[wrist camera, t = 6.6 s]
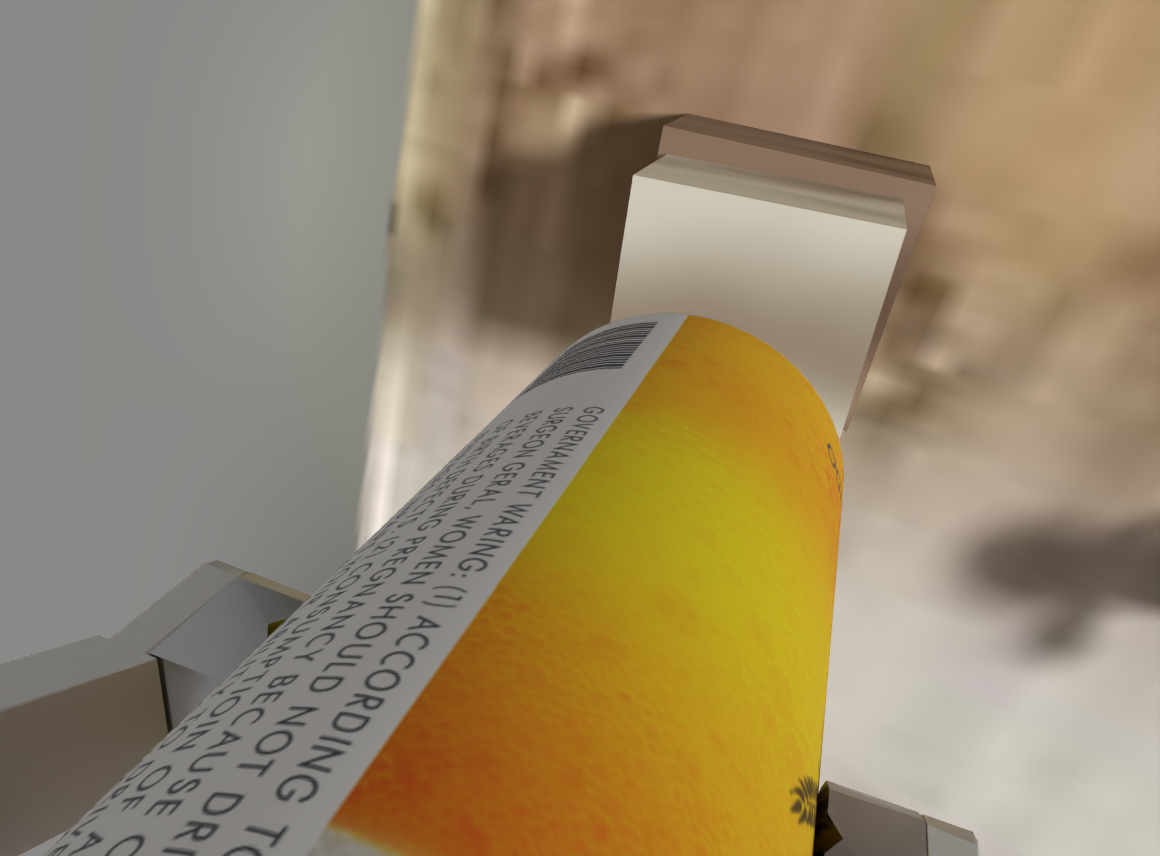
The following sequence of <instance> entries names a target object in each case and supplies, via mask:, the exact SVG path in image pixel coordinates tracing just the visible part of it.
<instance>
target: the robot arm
mask: <svg viewBox="0 0 1160 856" xmlns="http://www.w3.org/2000/svg"><path fill="white" fill-rule="evenodd" d="M309 597H310V595H307V594H304V593H301V592H299V591H297V590H294V589H292V588H289V587H287V586H284V585H281V584H279V583H276V582H274V581H271V580H269V579H266V578H264V577H261V576H258V575H256V574H253V573H249V572H247V571H244V570H241V569H239V568H236V567H234V566H231V565H229V564H226V563H223V562H221V561H218V560H216V561H212V562H209V563H205V564H203V565H201V566H200V567H199V568H198V569H196V570H195V571H194V572H193V573H192V574H190V575H189V576H188V577H186V578H185V579H184V580H183V581H181V582H180V583H179V584H178V585H176V586H175V587H174V588H172V589H171V590H170V591H169V592H167V593H166V594H165V595H164V596H162V597H161V598H160V599H159V600H157V601H156V602H155V603H154V604H152V605H151V606H150V607H149V608H147V609H146V610H145V611H144V612H142V613H141V614H140V615H139V616H137V617H136V618H135V619H133V620H132V621H131V622H130V623H128V624H127V625H126V626H125V627H124V628H122V629H121V630H120V631H118V632H117V633H116V634H115V635H113V636H112V637H111V638H110V639H108V638H105V637H102V636H99V635H98V636H94V637H91V638H88V639H84V640H81V641H78V642H74V643H71V644H67V645H64V646H61V647H57V648H54V649H51V650H47V651H44V652H40V653H37V654H34V655H30V656H27V657H24V658H20V659H17V660H14V661H10V662H7V663H4V664H0V856H18V855H20V854H22V853H24V852H26V851H28V850H30V849H32V848H34V847H35V846H38V845H40V844H42V843H43V842H45V841H47V840H49V839H51V838H53V837H55V836H57V835H59V834H61V833H63V832H65V831H67V830H69V829H70V828H72V827H73V826H74V825H75V824H76V823H77V822H78V821H79V820H80V819H81V818H82V817H83V816H84V815H85V814H86V813H87V812H88V811H89V810H90V809H91V808H92V807H93V806H94V805H95V804H96V803H97V802H98V801H99V800H100V799H101V798H103V797H104V796H105V795H106V794H107V793H108V792H109V791H110V790H111V789H112V788H113V787H114V786H115V785H116V784H117V783H118V782H119V781H120V780H121V779H122V778H123V777H124V776H125V775H126V774H127V773H128V772H129V771H130V770H131V769H133V768H134V767H135V766H136V765H137V764H138V763H139V762H140V761H141V760H142V759H143V758H144V757H145V756H146V755H147V754H148V753H149V752H150V751H151V750H152V749H153V748H154V747H155V746H156V745H157V744H158V743H159V742H160V741H161V740H162V739H164V738H165V737H166V736H167V735H168V734H169V733H170V732H171V731H172V730H173V729H174V728H175V727H176V726H177V725H178V724H179V723H180V722H181V721H182V720H183V719H184V718H185V717H186V716H187V715H188V714H189V713H190V712H191V711H192V710H194V709H195V708H196V707H197V706H198V705H199V704H200V703H201V702H202V701H203V700H204V699H205V698H206V697H207V696H208V695H209V694H210V693H211V692H212V691H213V690H214V689H215V688H216V687H217V686H218V685H219V684H220V683H221V682H222V681H223V680H225V679H226V678H227V677H228V676H229V675H230V674H231V673H232V672H233V671H234V670H235V669H236V668H237V667H238V666H239V665H240V664H241V663H242V662H243V661H244V660H245V659H246V658H247V657H248V656H249V655H250V654H251V653H252V652H253V651H255V650H256V649H257V648H258V647H259V646H260V645H261V644H262V643H263V642H264V641H265V640H266V639H267V638H268V637H269V636H270V635H271V634H272V633H273V632H274V631H275V630H276V629H277V628H278V627H279V626H280V625H281V624H282V623H283V622H284V621H286V620H287V619H288V618H289V617H290V616H291V615H292V614H293V613H294V612H295V611H296V610H297V609H298V608H299V607H300V606H301V605H302V604H303V603H304V602H305V601H306V600H307V599H308V598H309ZM813 856H980V854H979V845H978V841H977V839H976V837H975V835H974V834H973V832H972V831H969V830H966V829H963V828H960V827H958V826H955V825H952V824H949V823H946V822H943V821H940V820H938V819H935V818H932V817H929V816H926V815H920V814H919V813H918V812H916V811H913V810H910V809H907V808H904V807H901V806H899V805H896V804H893V803H890V802H887V801H884V800H881V799H878V798H876V797H873V796H870V795H867V794H864V793H861V792H858V791H855V790H853V789H850V788H847V787H844V786H841V785H838V784H835V783H832V782H830V781H826V782H825V783H824V784H823V786H822V787H821V789H820V791H819V793H818V802H817V814H816V826H815V838H814V850H813Z"/></svg>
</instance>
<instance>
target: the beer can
mask: <svg viewBox="0 0 1160 856" xmlns="http://www.w3.org/2000/svg"><path fill="white" fill-rule="evenodd" d="M843 481H844V468H843V456H842V451H841V446H840V442H839V437H838V434H837V431H836V429H835V426H834V423H833V420H832V418H831V416H830V414H829V412H828V410H827V408H826V406H825V404H824V402H823V400H822V399H821V397H820V396H819V394H818V393H817V391H816V390H815V388H814V387H813V385H812V384H811V383H810V382H809V381H808V379H807V378H806V377H805V376H804V375H803V374H802V372H801V371H800V370H799V369H798V368H797V367H796V366H795V365H794V364H792V363H791V362H790V361H789V360H788V359H787V358H786V357H785V356H784V355H782V354H781V353H780V352H778V351H777V350H776V349H774V348H773V347H772V346H770V345H769V344H767V343H766V342H764V341H762V340H761V339H759V338H757V337H755V336H754V335H752V334H750V333H748V332H746V331H744V330H741V329H739V328H737V327H735V326H732V325H730V324H727V323H724V322H720V321H717V320H714V319H711V318H706V317H701V316H695V315H690V314H677V313H655V314H645V315H639V316H632V317H628V318H625V319H621V320H618V321H614V322H611V323H609V324H607V325H604V326H602V327H599V328H597V329H595V330H593V331H592V332H590V333H588V334H586V335H585V336H583V337H581V338H580V339H578V340H577V341H576V342H575V343H573V344H572V345H571V346H569V347H568V348H567V349H566V350H565V351H564V352H563V353H562V354H561V355H560V356H558V357H557V358H556V359H555V360H554V361H553V362H552V363H551V364H550V365H549V366H548V367H547V368H546V369H545V370H544V371H543V372H542V373H541V374H540V375H539V376H538V377H537V378H536V379H535V380H534V381H533V382H532V383H531V384H530V385H528V386H527V387H526V388H525V389H524V390H523V391H522V392H521V393H520V394H519V395H518V396H517V397H516V398H515V399H514V400H513V401H512V402H511V403H510V404H509V405H508V406H507V407H506V408H505V409H504V410H503V411H502V412H501V413H500V414H499V415H497V416H496V417H495V418H494V419H493V420H492V421H491V422H490V423H489V424H488V425H487V426H486V427H485V428H484V429H483V430H482V431H481V432H480V433H479V434H478V435H477V436H476V437H475V438H474V439H473V440H472V441H471V442H470V443H469V444H467V445H466V446H465V447H464V448H463V449H462V450H461V451H460V452H459V453H458V454H457V455H456V456H455V457H454V458H453V459H452V460H451V461H450V462H449V463H448V464H447V465H446V466H445V467H444V468H443V469H442V470H441V471H440V472H439V473H438V474H436V475H435V476H434V477H433V478H432V479H431V480H430V481H429V482H428V483H427V484H426V485H425V486H424V487H423V488H422V489H421V490H420V491H419V492H418V493H417V494H416V495H415V496H414V497H413V498H412V499H411V500H410V501H409V502H408V503H406V504H405V505H404V506H403V507H402V508H401V509H400V510H399V511H398V512H397V513H396V514H395V515H394V516H393V517H392V518H391V519H390V520H389V521H388V522H387V523H386V524H385V525H384V526H383V527H382V528H381V529H380V530H379V531H378V532H377V533H375V534H374V535H373V536H372V537H371V538H370V539H369V540H368V541H367V542H366V543H365V544H364V545H363V546H362V547H361V548H360V549H359V550H358V551H357V552H356V553H355V554H354V555H353V556H352V557H351V558H350V559H349V560H348V561H347V562H345V563H344V564H343V566H341V567H340V568H339V569H338V570H337V571H336V572H335V573H334V574H333V575H332V576H331V577H330V578H329V579H328V580H327V581H326V582H325V583H324V584H323V585H322V586H321V587H320V588H319V589H318V590H317V591H316V592H314V593H313V594H312V595H311V596H310V597H309V598H308V599H307V600H306V601H305V602H304V603H303V604H302V605H301V606H300V607H299V608H298V609H297V610H296V611H295V612H294V613H293V614H292V615H291V616H290V617H289V618H288V619H287V620H286V621H284V622H283V623H282V624H281V625H280V626H279V627H278V628H277V629H276V630H275V631H274V632H273V633H272V634H271V635H270V636H269V637H268V638H267V639H266V640H265V641H264V642H263V643H262V644H261V645H260V646H259V647H258V648H257V649H256V650H255V651H253V652H252V653H251V654H250V655H249V656H248V657H247V658H246V659H245V660H244V661H243V662H242V663H241V664H240V665H239V666H238V667H237V668H236V669H235V670H234V671H233V672H232V673H231V674H230V675H229V676H228V677H227V678H226V679H225V680H223V681H222V682H221V683H220V684H219V685H218V686H217V687H216V688H215V689H214V690H213V691H212V692H211V693H210V694H209V695H208V696H207V697H206V698H205V699H204V700H203V701H202V702H201V703H200V704H199V705H198V706H197V707H196V708H195V709H194V710H192V711H191V712H190V713H189V714H188V715H187V716H186V717H185V718H184V719H183V720H182V721H181V722H180V723H179V724H178V725H177V726H176V727H175V728H174V729H173V730H172V731H171V732H170V733H169V734H168V735H167V736H166V737H165V738H164V739H162V740H161V741H160V742H159V743H158V744H157V745H156V746H155V747H154V748H153V749H152V750H151V751H150V752H149V753H148V754H147V755H146V756H145V757H144V758H143V759H142V760H141V761H140V762H139V763H138V764H137V765H136V766H135V767H134V768H133V769H131V770H130V771H129V772H128V773H127V774H126V775H125V776H124V777H123V778H122V779H121V780H120V781H119V782H118V783H117V784H116V785H115V786H114V787H113V788H112V789H111V790H110V791H109V792H108V793H107V794H106V795H105V796H104V797H103V798H101V799H100V800H99V801H98V802H97V803H96V804H95V805H94V806H93V807H92V808H91V809H90V810H89V811H88V812H87V813H86V814H85V815H84V816H83V817H82V818H81V819H80V820H79V821H78V822H77V823H76V824H75V825H74V826H73V827H72V828H70V829H69V830H68V831H67V832H66V833H65V834H64V835H63V836H62V837H61V838H60V839H59V840H58V841H57V842H56V843H55V844H54V845H53V846H52V847H51V848H50V849H49V850H48V851H47V852H46V853H45V854H44V855H43V856H813V850H814V838H815V826H816V814H817V802H818V789H819V777H820V765H821V753H822V741H823V728H824V716H825V704H826V692H827V679H828V667H829V655H830V643H831V631H832V618H833V606H834V594H835V582H836V570H837V557H838V545H839V533H840V521H841V509H842V496H843Z"/></svg>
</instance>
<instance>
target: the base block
mask: <svg viewBox="0 0 1160 856" xmlns="http://www.w3.org/2000/svg"><path fill="white" fill-rule="evenodd" d="M667 154H669V155H674V156H679V157H684V158H689V159H695V160H700V161H705V162H710V163H716V164H721V165H726V166H731V167H736V168H742V169H747V170H752V171H757V172H762V173H768V174H773V175H778V176H783V177H788V178H794V179H799V180H804V181H809V182H815V183H820V184H825V185H830V186H835V187H841V188H846V189H851V190H856V191H861V192H867V193H872V194H877V195H882V196H887V197H893V198H898V199H903V201H904V209H905V218H906V227H907V231H906V234H905V237H904V240H903V243H902V246H901V249H900V252H899V256H898V259H897V262H896V265H895V268H894V271H893V274H892V277H891V281H890V284H889V287H888V290H887V293H886V296H885V299H884V302H883V306H882V309H881V312H880V315H879V318H878V321H877V324H876V327H875V331H874V334H873V337H872V340H871V343H870V346H869V349H868V352H867V356H866V359H865V362H864V365H863V368H862V371H861V374H860V377H859V381H858V384H857V387H856V390H855V393H854V396H853V399H852V402H851V406H850V409H849V412H848V415H847V418H846V421H845V424H844V427H843V430H845V431H847V429H848V426H849V423H850V421H851V418H852V415H853V412H854V410H855V407H856V404H857V401H858V399H859V396H860V393H861V390H862V388H863V385H864V382H865V380H866V377H867V374H868V371H869V369H870V366H871V363H872V360H873V358H874V355H875V352H876V349H877V347H878V344H879V341H880V338H881V336H882V333H883V330H884V327H885V325H886V322H887V319H888V316H889V314H890V311H891V308H892V305H893V303H894V300H895V297H896V294H897V292H898V289H899V286H900V284H901V281H902V278H903V275H904V273H905V270H906V267H907V264H908V262H909V259H910V256H911V253H912V251H913V248H914V245H915V242H916V240H917V237H918V234H919V231H920V229H921V226H922V223H923V220H924V218H925V215H926V212H927V209H928V207H929V204H930V201H931V199H932V196H933V193H934V190H935V188H936V184H935V181H934V178H933V175H932V172H931V168H930V166H928V165H923V164H918V163H914V162H909V161H904V160H900V159H895V158H891V157H886V156H881V155H877V154H872V153H868V152H863V151H858V150H854V149H849V148H845V147H840V146H835V145H831V144H826V143H821V142H817V141H812V140H808V139H803V138H798V137H794V136H789V135H785V134H780V133H775V132H771V131H766V130H761V129H757V128H752V127H748V126H743V125H738V124H734V123H729V122H725V121H720V120H715V119H711V118H706V117H701V116H697V115H692V114H686V115H684V116H682V117H680V118H678V119H676V120H674V121H672V122H670V123H668V124H666V125H663V130H662V135H661V140H660V145H659V150H658V155H657V160H658V159H660V158H662V157H663V156H665V155H667ZM657 160H656V161H657Z"/></svg>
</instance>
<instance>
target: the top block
mask: <svg viewBox="0 0 1160 856" xmlns="http://www.w3.org/2000/svg"><path fill="white" fill-rule="evenodd" d="M906 231H907V227H906V218H905V209H904V201H903V199H898V198H893V197H887V196H882V195H877V194H872V193H867V192H861V191H856V190H851V189H846V188H841V187H835V186H830V185H825V184H820V183H815V182H809V181H804V180H799V179H794V178H788V177H783V176H778V175H773V174H768V173H762V172H757V171H752V170H747V169H742V168H736V167H731V166H726V165H721V164H716V163H710V162H705V161H700V160H695V159H689V158H684V157H679V156H674V155H669V154H667V155H665V156H663V157H662V158H660V159H658V160H657V161H655V162H654V163H652V164H650V165H649V166H647V167H645V168H644V169H642V170H640V171H639V172H637V173H636V174H634V175H633V179H632V186H631V192H630V199H629V205H628V211H627V218H626V224H625V231H624V237H623V243H622V250H621V256H620V263H619V269H618V275H617V282H616V288H615V295H614V301H613V308H612V314H611V320H610V323H611V322H614V321H618V320H621V319H625V318H628V317H632V316H639V315H645V314H655V313H677V314H690V315H695V316H701V317H706V318H711V319H714V320H717V321H720V322H724V323H727V324H730V325H732V326H735V327H737V328H739V329H741V330H744V331H746V332H748V333H750V334H752V335H754V336H755V337H757V338H759V339H761V340H762V341H764V342H766V343H767V344H769V345H770V346H772V347H773V348H774V349H776V350H777V351H778V352H780V353H781V354H782V355H784V356H785V357H786V358H787V359H788V360H789V361H790V362H791V363H792V364H794V365H795V366H796V367H797V368H798V369H799V370H800V371H801V372H802V374H803V375H804V376H805V377H806V378H807V379H808V381H809V382H810V383H811V384H812V385H813V387H814V388H815V390H816V391H817V393H818V394H819V396H820V397H821V399H822V400H823V402H824V404H825V406H826V408H827V410H828V412H829V414H830V416H831V418H832V420H833V423H834V426H835V429H836V431H837V434H838V437H839V440H840V437H841V434H842V431H843V427H844V424H845V421H846V418H847V415H848V412H849V409H850V406H851V402H852V399H853V396H854V393H855V390H856V387H857V384H858V381H859V377H860V374H861V371H862V368H863V365H864V362H865V359H866V356H867V352H868V349H869V346H870V343H871V340H872V337H873V334H874V331H875V327H876V324H877V321H878V318H879V315H880V312H881V309H882V306H883V302H884V299H885V296H886V293H887V290H888V287H889V284H890V281H891V277H892V274H893V271H894V268H895V265H896V262H897V259H898V256H899V252H900V249H901V246H902V243H903V240H904V237H905V234H906Z"/></svg>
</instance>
